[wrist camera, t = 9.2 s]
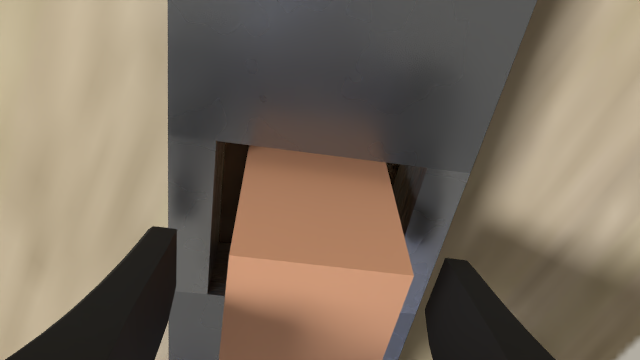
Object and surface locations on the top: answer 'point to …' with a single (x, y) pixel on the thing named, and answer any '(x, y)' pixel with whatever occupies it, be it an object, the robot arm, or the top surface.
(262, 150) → the square block
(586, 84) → the top surface
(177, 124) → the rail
